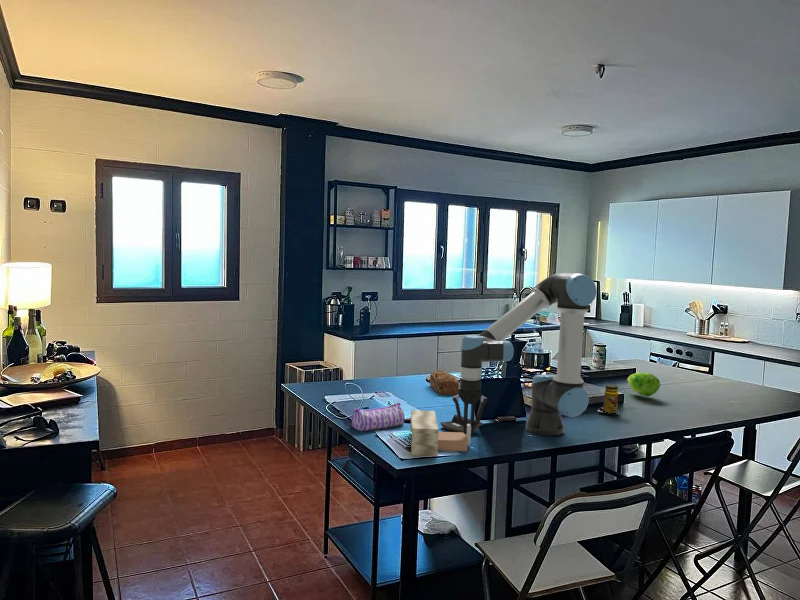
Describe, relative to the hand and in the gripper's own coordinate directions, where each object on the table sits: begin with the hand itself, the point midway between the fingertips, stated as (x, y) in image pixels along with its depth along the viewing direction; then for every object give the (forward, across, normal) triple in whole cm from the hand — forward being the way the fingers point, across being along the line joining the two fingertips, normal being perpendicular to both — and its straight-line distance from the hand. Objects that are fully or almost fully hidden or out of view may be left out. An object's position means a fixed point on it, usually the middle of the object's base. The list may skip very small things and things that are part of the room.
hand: (467, 442), depth 217 cm
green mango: (+2, -102, -96) cm, 140 cm away
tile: (+2, +8, 0) cm, 8 cm away
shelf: (+2, +17, 0) cm, 17 cm away
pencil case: (+2, +33, -18) cm, 38 cm away
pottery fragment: (+3, +2, -18) cm, 18 cm away
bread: (+2, +2, -85) cm, 85 cm away
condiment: (+2, -71, -58) cm, 92 cm away
